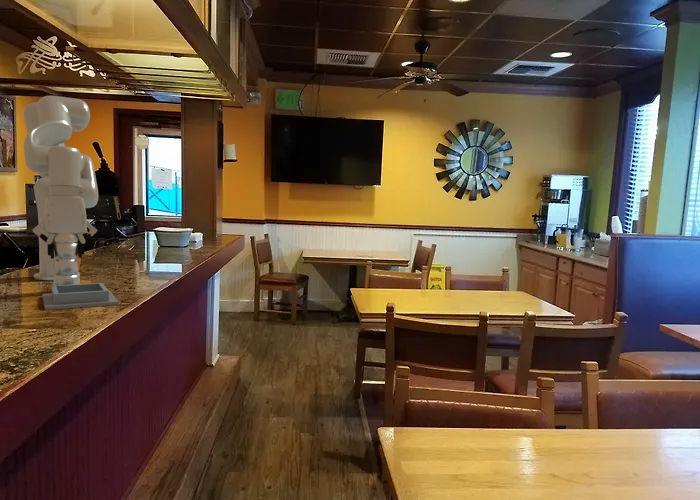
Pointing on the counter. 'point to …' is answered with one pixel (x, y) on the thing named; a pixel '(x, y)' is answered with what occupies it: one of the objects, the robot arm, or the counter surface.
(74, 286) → the blue-grey square tray
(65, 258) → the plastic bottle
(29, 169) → the robot arm
